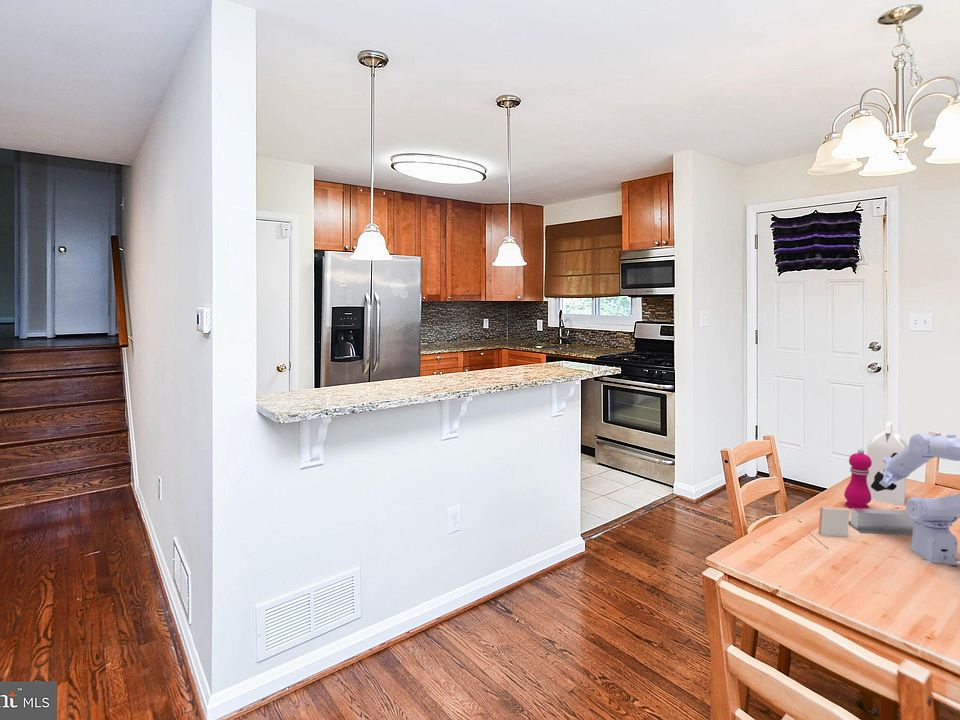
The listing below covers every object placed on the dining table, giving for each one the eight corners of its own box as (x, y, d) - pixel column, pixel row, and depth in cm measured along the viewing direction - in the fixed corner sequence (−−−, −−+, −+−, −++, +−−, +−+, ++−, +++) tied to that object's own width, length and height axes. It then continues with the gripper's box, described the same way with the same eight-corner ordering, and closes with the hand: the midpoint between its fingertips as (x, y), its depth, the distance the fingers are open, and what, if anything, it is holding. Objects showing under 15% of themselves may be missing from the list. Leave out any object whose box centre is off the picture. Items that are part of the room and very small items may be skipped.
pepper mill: (874, 514, 175) (879, 452, 173) (849, 512, 176) (853, 451, 174) (863, 506, 182) (868, 446, 180) (839, 504, 183) (843, 445, 181)
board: (924, 538, 157) (924, 535, 157) (860, 535, 159) (860, 533, 159) (903, 525, 166) (903, 523, 166) (843, 523, 168) (843, 520, 168)
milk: (864, 489, 198) (869, 418, 195) (905, 497, 190) (911, 422, 188) (861, 499, 188) (866, 424, 186) (903, 507, 181) (910, 429, 178)
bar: (916, 531, 160) (917, 514, 159) (857, 529, 161) (858, 512, 161) (908, 526, 163) (909, 510, 163) (850, 524, 165) (851, 508, 164)
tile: (847, 537, 156) (849, 509, 156) (821, 535, 157) (823, 508, 156) (844, 534, 158) (846, 507, 157) (818, 533, 159) (820, 506, 158)
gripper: (906, 435, 158) (880, 456, 169) (880, 466, 153) (855, 485, 164) (931, 452, 155) (903, 472, 166) (906, 484, 150) (878, 503, 161)
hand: (880, 480), depth 165 cm, fingers open, 7 cm apart
